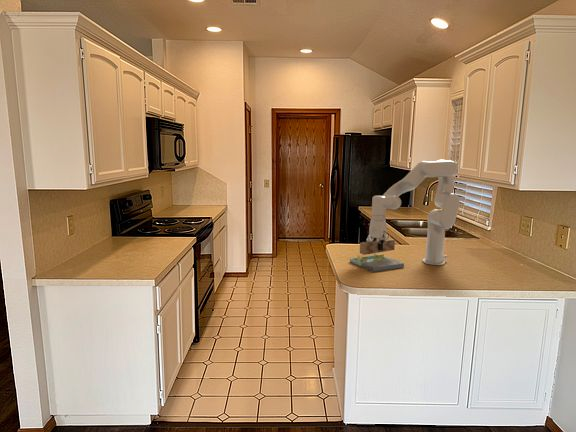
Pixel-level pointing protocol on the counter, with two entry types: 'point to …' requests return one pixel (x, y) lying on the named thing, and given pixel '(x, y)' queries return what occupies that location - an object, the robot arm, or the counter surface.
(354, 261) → the teal tray
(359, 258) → the brass block
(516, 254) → the counter surface
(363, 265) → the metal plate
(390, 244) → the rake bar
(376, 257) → the brass block
